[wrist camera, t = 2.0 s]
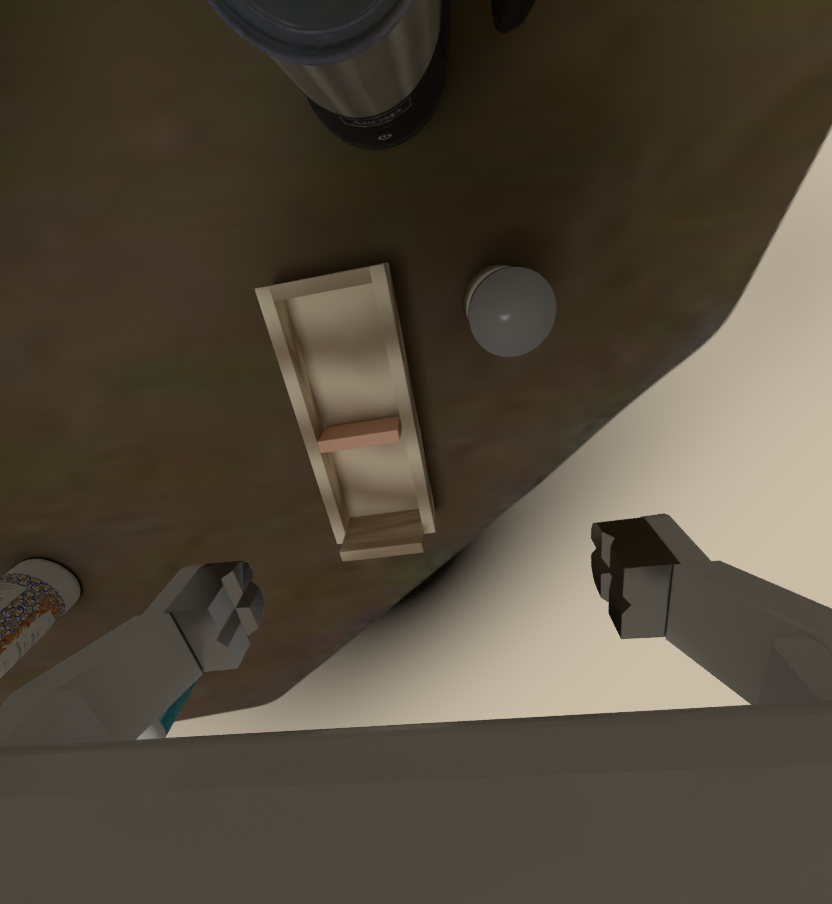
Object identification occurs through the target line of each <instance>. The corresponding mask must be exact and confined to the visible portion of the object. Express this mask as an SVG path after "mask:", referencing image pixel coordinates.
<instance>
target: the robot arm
mask: <svg viewBox="0 0 832 904" xmlns="http://www.w3.org/2000/svg"><path fill="white" fill-rule="evenodd" d="M591 539H592V541H593V542H594V545H595V546H596V549H595V551H594V552H593V553H592V555H591V567H592V573H593V578H594V582H595V585H596V587H597V590H598V592H599V594H600V596H601V598H603V599H604V600H606V601H607V602H609V615H610V617H611V619H612V621H613V623H614V625H615V627H616V630H617V632H618V634H619V636H620V638H621V639H628V638H629V639H630V638H650V637H666V639H667V640H668V641H669V642H670V643H672V644H673V645H675V646H676V647H677V648H678V649H680V650H681V651H682V652H683V653H685V654H686V655H687V656H689V657H690V658H691V659H693V660H694V661H695V662H697V663H698V664H699V665H701V666H702V667H703V668H704V669H706V670H707V671H708V672H710V673H711V674H712V675H713V676H715V677H716V678H717V679H719V680H720V681H721V682H723V683H724V684H725V685H727V686H728V687H729V688H730V689H732V690H733V691H734V692H736V693H737V694H738V695H740V696H741V697H742V698H744V699H745V700H746V701H747V702H749V703H750V704H751V705H742V706H724V707H706V708H689V709H672V710H654V711H636V712H618V713H601V714H582V715H565V716H548V717H531V718H513V719H495V720H494V719H493V720H476V721H458V722H442V723H422V724H405V725H388V726H371V727H352V728H334V729H317V730H301V731H281V732H264V733H246V734H229V735H211V736H194V737H176V738H158V739H140V740H136V739H137V738H138V737H139V736H140V735H141V734H142V733H143V732H144V731H145V730H146V729H147V728H148V727H149V726H150V725H151V724H152V723H153V722H154V721H155V720H156V719H157V718H158V717H159V716H161V715H162V714H163V713H164V712H165V711H166V710H167V709H168V708H169V707H170V706H171V705H172V704H173V703H174V702H175V701H176V700H177V699H178V698H179V697H180V696H181V695H182V694H183V693H184V692H185V691H186V690H187V689H188V688H189V687H190V686H191V685H192V684H193V683H194V682H195V681H196V680H197V679H198V678H199V677H200V676H201V675H202V674H203V673H202V672H207V671H217V670H226V669H235V668H238V667H239V665H240V663H241V661H242V659H243V657H244V655H245V653H246V651H247V649H248V647H249V645H250V641H249V638H248V635H250V634H251V633H252V632H253V631H254V630H256V629H257V628H258V626H259V624H260V622H261V620H262V618H263V612H264V599H263V594H262V592H261V589H260V587H258V586H257V585H256V584H254V583H253V582H251V580H252V577H253V575H254V573H253V571H252V568H251V566H250V564H249V563H248V562H245V561H232V562H221V563H209V564H199V565H190V566H186V567H184V568H181V569H180V571H179V572H178V573H177V574H176V575H175V576H174V578H173V579H172V580H171V581H170V582H169V584H168V585H167V586H166V587H165V588H164V589H163V591H162V592H161V593H160V594H159V595H158V597H157V598H156V599H155V600H154V601H153V602H152V604H151V605H150V606H149V607H148V608H147V610H146V611H145V612H144V613H143V614H142V615H141V616H135V617H133V618H131V619H130V620H128V621H127V622H125V623H123V624H122V625H120V626H119V627H117V628H115V629H114V630H112V631H111V632H109V633H107V634H106V635H104V636H103V637H101V638H99V639H98V640H96V641H95V642H93V643H91V644H90V645H88V646H87V647H85V648H83V649H82V650H80V651H79V652H77V653H75V654H74V655H72V656H71V657H69V658H67V659H66V660H64V661H63V662H61V663H59V664H58V665H56V666H55V667H53V668H51V669H50V670H48V671H47V672H45V673H43V674H42V675H40V676H39V677H37V678H35V679H34V680H32V681H31V682H29V683H27V684H26V685H24V686H23V687H21V688H19V689H18V690H16V691H15V692H14V693H13V694H12V695H11V696H10V697H9V698H8V699H7V700H6V701H5V702H4V703H3V704H2V705H1V706H0V904H832V609H831V608H829V607H827V606H824V605H822V604H820V603H817V602H815V601H812V600H810V599H808V598H806V597H803V596H801V595H799V594H796V593H794V592H791V591H789V590H787V589H784V588H782V587H780V586H778V585H775V584H773V583H771V582H768V581H766V580H764V579H761V578H759V577H756V576H754V575H752V574H749V573H747V572H745V571H742V570H740V569H738V568H735V567H733V566H731V565H728V564H726V563H724V562H721V561H711V560H710V559H709V558H708V557H707V556H706V555H705V554H704V553H703V552H702V551H701V549H700V548H699V547H698V546H697V545H696V544H695V543H694V542H693V541H692V540H691V539H690V538H689V536H688V535H687V534H686V533H685V532H684V531H683V530H682V529H681V528H680V527H679V526H678V524H677V523H676V522H675V521H674V520H673V519H672V518H671V517H670V516H669V515H667V514H658V515H651V516H644V517H640V518H633V519H624V520H615V521H607V522H598V523H593V525H592V529H591Z"/></svg>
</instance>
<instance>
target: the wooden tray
mask: <svg viewBox="0 0 832 904" xmlns="http://www.w3.org/2000/svg"><path fill="white" fill-rule="evenodd" d="M255 291H256V294H257V298H258V301H259V304H260V307H261V310H262V313H263V316H264V319H265V322H266V325H267V328H268V331H269V335H270V338H271V341H272V344H273V347H274V350H275V353H276V356H277V359H278V362H279V365H280V369H281V372H282V375H283V378H284V381H285V384H286V387H287V390H288V393H289V396H290V399H291V402H292V406H293V409H294V412H295V415H296V418H297V421H298V424H299V427H300V430H301V433H302V436H303V439H304V443H305V446H306V449H307V452H308V455H309V458H310V461H311V464H312V467H313V470H314V473H315V476H316V480H317V483H318V486H319V489H320V492H321V495H322V498H323V501H324V504H325V507H326V510H327V514H328V517H329V520H330V523H331V526H332V529H333V532H334V535H335V538H336V541H337V544H342V546H341V550H340V555H341V558H342V561H351V560H360V559H369V558H378V557H386V556H395V555H404V554H412V553H421V552H424V534H425V533H434V532H435V507H434V502H433V496H432V491H431V486H430V480H429V475H428V469H427V464H426V459H425V453H424V448H423V443H422V437H421V432H420V427H419V421H418V416H417V411H416V405H415V400H414V394H413V389H412V384H411V378H410V373H409V368H408V362H407V357H406V352H405V346H404V341H403V335H402V330H401V325H400V319H399V314H398V309H397V303H396V298H395V293H394V287H393V282H392V277H391V271H390V266H389V262H387V263H382V264H377V265H372V266H367V267H361V268H356V269H351V270H346V271H341V272H336V273H331V274H325V275H320V276H315V277H310V278H305V279H300V280H294V281H289V282H284V283H279V284H274V285H269V286H265V287H261V288H257V289H255ZM395 416H400V420H401V424H402V432H401V438H400V442H395V443H388V444H381V445H374V446H367V447H360V448H353V449H346V450H340V451H333V452H326V453H320V449H319V446H318V443H317V441H318V440H319V438H320V436H321V435H322V433H323V431H324V430H325V428H326V427H329V426H336V425H342V424H349V423H355V422H362V421H369V420H375V419H382V418H388V417H395Z"/></svg>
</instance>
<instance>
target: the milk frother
mask: <svg viewBox="0 0 832 904" xmlns="http://www.w3.org/2000/svg"><path fill="white" fill-rule="evenodd" d="M207 1H208V3H209V4H210V6H211V7H212V8H213V9H214V10H215V11H216V13H217V14H218V15H219V16H220V17H221V19H222V20H223V21H225V22H226V23H227V24H228V25H229V26H230V27H231V28H232V29H233V30H234V31H235V32H236V33H237V34H238V35H240V36H241V37H242V38H243V39H244V40H246V41H247V42H249V43H250V44H252V45H253V46H255V47H256V48H257V49H259V50H261V51H263V52H265V53H267V54H268V55H269V57H270V58H271V59H272V60H273V61H274V62H275V63H276V64H277V65H278V66H279V67H280V68H281V70H282V71H283V72H284V73H285V74H286V75H287V76H288V77H289V78H290V79H291V80H292V81H293V82H294V83H295V84H296V85H297V86H298V87H299V88H300V89H301V91H302V92H303V93H304V94H305V95H306V96H307V98H308V100H309V103H310V105H311V107H312V108H313V110H314V112H315V113H316V115H317V116H318V117H319V119H320V120H321V122H322V123H323V124H324V125H325V126H326V127H327V128H328V129H329V130H330V131H331V132H332V133H333V134H335V135H336V136H337V137H339V138H340V139H342V140H343V141H345V142H347V143H349V144H351V145H354V146H356V147H361V148H364V149H373V150H374V149H384V148H388V147H393V146H395V145H398V144H400V143H402V142H404V141H406V140H407V139H408V138H410V137H412V136H413V135H414V134H415V133H416V132H417V131H418V130H419V129H420V128H421V127H422V126H423V125H424V124H425V122H426V121H427V120H428V119H429V117H430V115H431V114H432V112H433V110H434V109H435V107H436V105H437V102H438V100H439V98H440V95H441V92H442V89H443V85H444V81H445V76H446V70H447V61H448V53H449V42H450V13H451V0H207ZM535 1H536V0H491V6H492V13H493V21H494V25H495V28H496V29H497V30H498V31H499V32H501V33H508V32H509V31H510V30H513V29H515V28H517V27H519V26H520V25H521V24H522V23H523V22H524V20H525V19H526V17H527V15H528V14H529V12H530V10H531V8H532V6H533V4H534V3H535Z"/></svg>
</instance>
